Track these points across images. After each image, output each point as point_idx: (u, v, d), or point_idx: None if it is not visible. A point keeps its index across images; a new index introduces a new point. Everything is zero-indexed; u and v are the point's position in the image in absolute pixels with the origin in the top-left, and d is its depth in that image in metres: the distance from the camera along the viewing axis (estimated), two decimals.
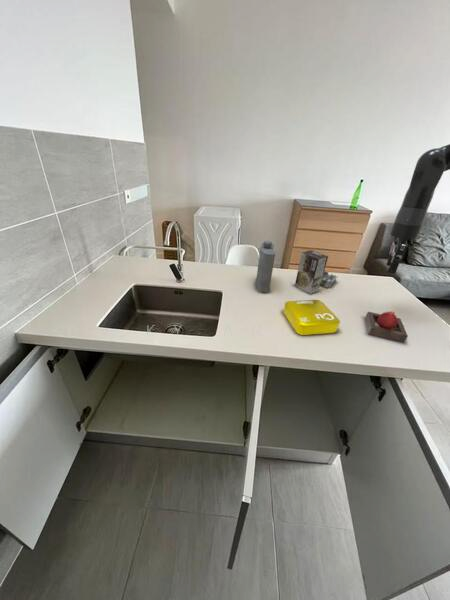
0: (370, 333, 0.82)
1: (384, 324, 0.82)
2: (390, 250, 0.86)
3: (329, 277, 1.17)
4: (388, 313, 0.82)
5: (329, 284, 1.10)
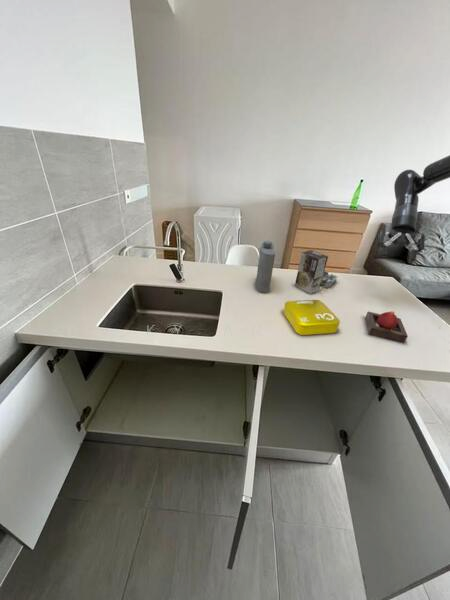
0: (370, 333, 0.82)
1: (384, 324, 0.82)
2: (407, 248, 0.89)
3: (329, 277, 1.17)
4: (388, 313, 0.82)
5: (329, 284, 1.10)
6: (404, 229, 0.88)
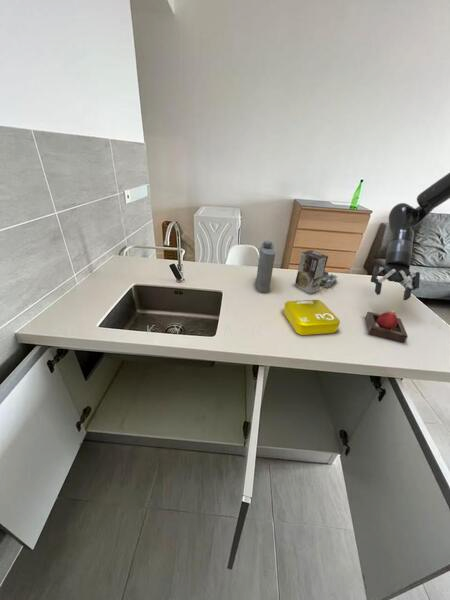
0: (370, 333, 0.82)
1: (384, 324, 0.82)
2: (401, 284, 0.86)
3: (329, 277, 1.17)
4: (388, 313, 0.82)
5: (329, 284, 1.10)
6: (398, 265, 0.85)
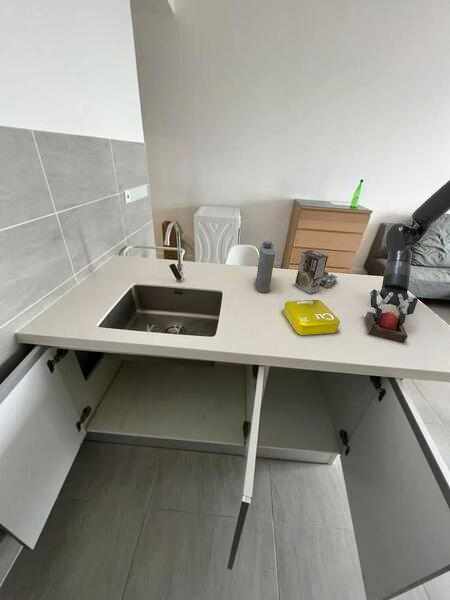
0: (370, 333, 0.82)
1: (384, 324, 0.82)
2: (397, 308, 0.84)
3: (329, 277, 1.17)
4: (388, 313, 0.82)
5: (329, 284, 1.10)
6: (396, 288, 0.83)
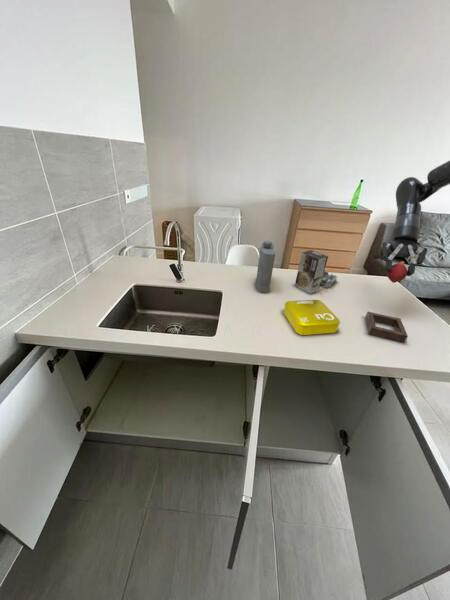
0: (370, 333, 0.82)
1: (393, 274, 0.83)
2: (406, 260, 0.85)
3: (329, 277, 1.17)
4: (398, 264, 0.83)
5: (329, 284, 1.10)
6: (406, 240, 0.84)
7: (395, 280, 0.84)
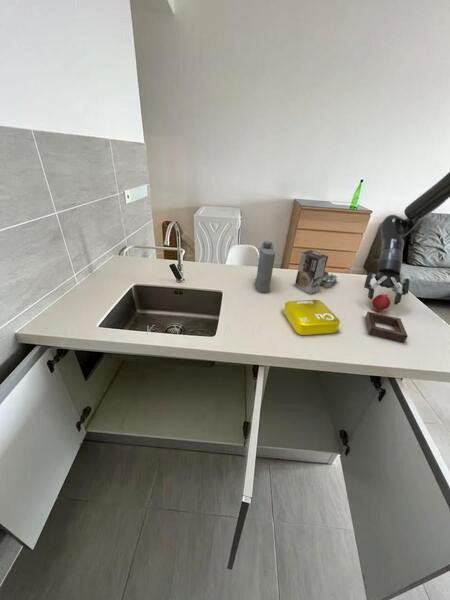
0: (370, 333, 0.82)
1: (378, 305, 0.92)
2: None
3: (329, 277, 1.17)
4: (382, 295, 0.92)
5: (329, 284, 1.10)
6: (390, 272, 0.93)
7: (379, 309, 0.93)
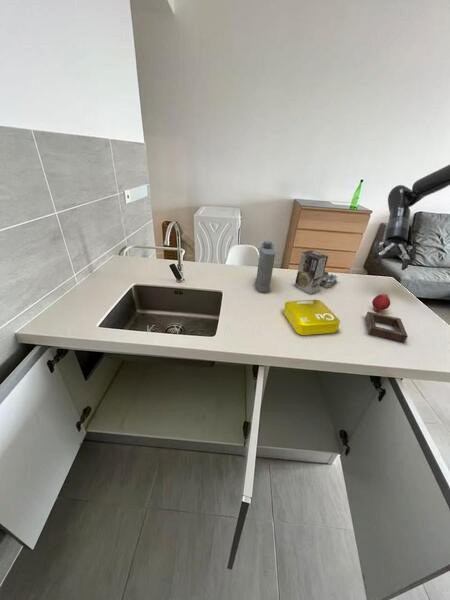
0: (370, 333, 0.82)
1: (378, 305, 0.92)
2: None
3: (329, 277, 1.17)
4: (382, 295, 0.92)
5: (329, 284, 1.10)
6: (397, 240, 0.96)
7: (379, 309, 0.93)
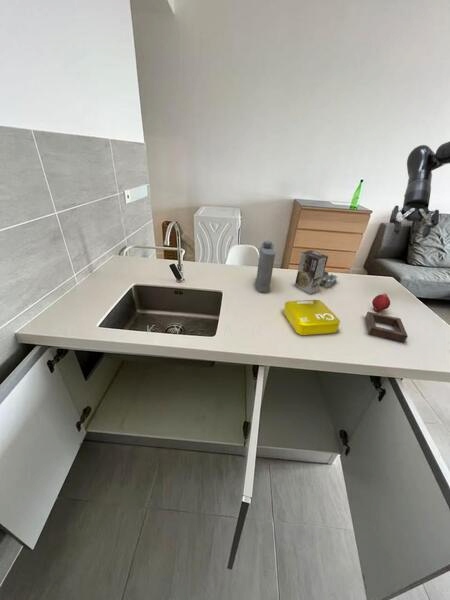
0: (370, 333, 0.82)
1: (378, 305, 0.92)
2: (420, 224, 0.88)
3: (329, 277, 1.17)
4: (382, 295, 0.92)
5: (329, 284, 1.10)
6: (417, 205, 0.87)
7: (379, 309, 0.93)
